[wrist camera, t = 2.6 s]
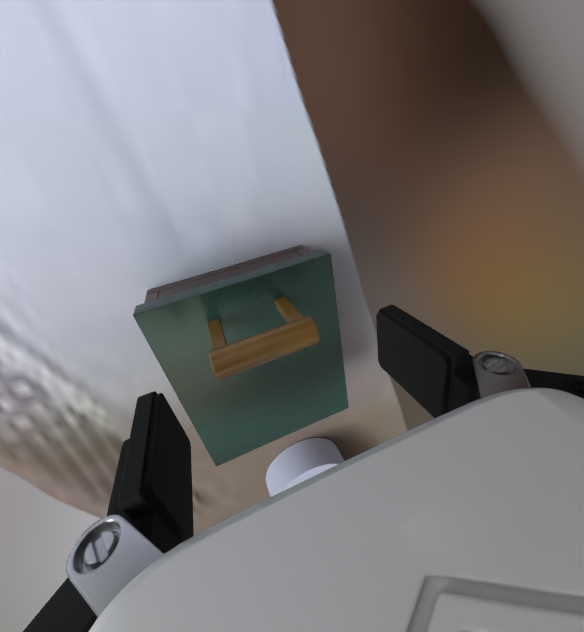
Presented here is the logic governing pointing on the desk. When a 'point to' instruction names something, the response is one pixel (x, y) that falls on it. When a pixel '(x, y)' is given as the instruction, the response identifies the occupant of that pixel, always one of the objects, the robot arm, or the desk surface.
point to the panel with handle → (252, 353)
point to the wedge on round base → (301, 463)
